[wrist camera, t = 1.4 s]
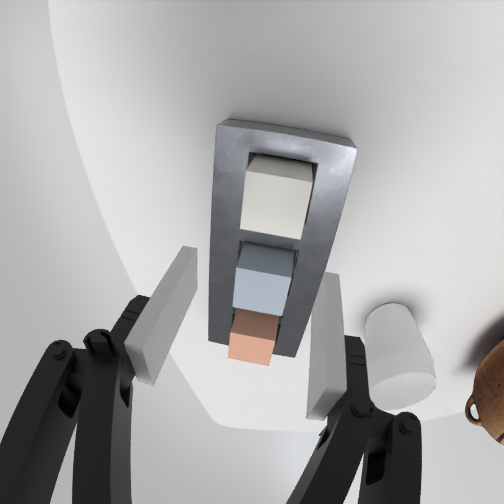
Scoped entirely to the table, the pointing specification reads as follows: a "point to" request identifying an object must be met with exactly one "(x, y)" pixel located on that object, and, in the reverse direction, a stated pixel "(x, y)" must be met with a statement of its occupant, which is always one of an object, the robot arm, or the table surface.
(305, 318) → the panel
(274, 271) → the slate key
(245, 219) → the ivory key
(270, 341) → the terracotta key
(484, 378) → the vase
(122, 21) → the table surface
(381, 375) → the cup
